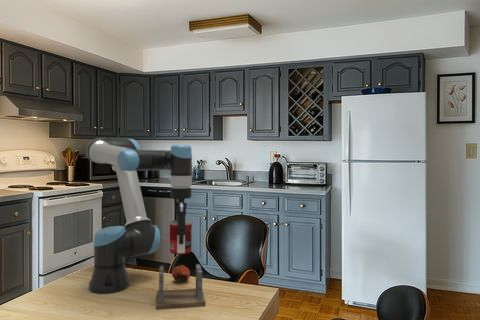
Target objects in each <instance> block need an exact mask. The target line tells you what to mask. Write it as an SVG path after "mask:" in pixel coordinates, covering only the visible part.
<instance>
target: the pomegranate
mask: <svg viewBox="0 0 480 320" xmlns="http://www.w3.org/2000/svg"><path fill="white" fill-rule="evenodd" d="M190 276H191V271H190V269H189V268H188V267H187V266H185V264H184V263H182V264H180V265H177V266H176V267H174V268H173V269H172V272H171V277H172V278H173V280H174V281H175V282H177V285H179V284H180V282H181V283H182V282H183V283H186V282H188V281H189V279H190Z"/></svg>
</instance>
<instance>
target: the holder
mask: <svg viewBox="0 0 480 320" xmlns="http://www.w3.org/2000/svg"><path fill="white" fill-rule="evenodd" d="M164 268H165V266H164V265H159V269H158V270H159V271H158V275H159V276H158V290H156V294H155V295H156V297H155V310H156V311H157V310H169V309H184V308H198V307H200V308H201V307H206V299H205V295H204V292H203V270H202V267H201V264H200V263H196V264H195V288H185V289H168V290H166V289H165V290H164V285H165V283H164V281H165V280H164Z"/></svg>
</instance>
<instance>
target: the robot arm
mask: <svg viewBox="0 0 480 320" xmlns="http://www.w3.org/2000/svg"><path fill="white" fill-rule="evenodd" d="M85 154H86V156H87V158H88V159H89V160H90V161H91V162H93V163H96V164H103V165H104V164H105V165H106V164H107V165H108V164H109V165H111V168H112V169H111V170H112V171H114V172H116V177H117V180H118V186H119V192H120V196H121V202H122V206H123V211H124V217H125V220H126V223H124V224H125V225H116V226H113V225H112V226H107V227H104V228H101V229H99V230H97V231H96V232H95V234H94V236H93V237H94V238H93V272H92V275H91V279H90V280H89V283H88V289H89V291H90V292H93V293H95V294H111V293H112V294H113V293H117V292H121V291H124V290H126V289H128V288H129V286H130V277H129V276H128V272H127V269H126V265H125V264H126V262H125V261H126V259H127V258H133V257H139V256H146V255H148V254H153V253H155V252H156V251H157V250H158V249H159V247H160V242H161V232H160V229H159V227H158V226H157V225H155V224H153V222H152V220H151V219H150V218H148V217H147V212H146V209H145V207H146V206H145V203H144V199H143V193H142V189H141V185H140V182H139V181H140V180H139V177H138V172H139V171H170V177H169V178H168V181H169V182H170V187H171V188H170V193H169V194H170V199H174V200H176V199H177V200H176V202H175V204H174V205H175V215H176V220H177V221H178V233H176V235H177V253H185V233H186V231H185V220H186V215H187V208H188V207H187V202H185V199H186V200H187V199H188V200H189V199H191V198H192V188H191V187H192V184H193V183H192V181H193V180H192V179H193V177H192V172H193V171H192V167H193V165H192V164H193V162H192V160H193V159H192V158H193V154H192V147H191V145H189V144H172V145H171V146H170V150H166V149H162V150H161V149H160V150H159V149H158V150H157V149H154V150H153V149H151V150H150V149H141V147H140V144H139V143H138V141H136V140H135V139H133V138H128V137H122V138H121V137H120V138H119V137H97V138H93V139H92V140H91V141H90V142H88V143H87V146H86V148H85ZM137 171H138V172H137ZM180 230H183V231H180Z"/></svg>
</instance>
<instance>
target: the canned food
mask: <svg viewBox="0 0 480 320" xmlns="http://www.w3.org/2000/svg"><path fill="white" fill-rule="evenodd" d="M192 223H193V221H191V220H187V219H185V231H186V233H185V253H177V235H176V233H178V221H177V219H175V220H170V221H169V252H170V253H171V254H173V255H189V254H190V253H191V252H192V247H193V246H192V242H193V241H192V239H193V238H192V234H193V233H192V231H193V227H192V226H193V225H192ZM180 231H183V230H180Z"/></svg>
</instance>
